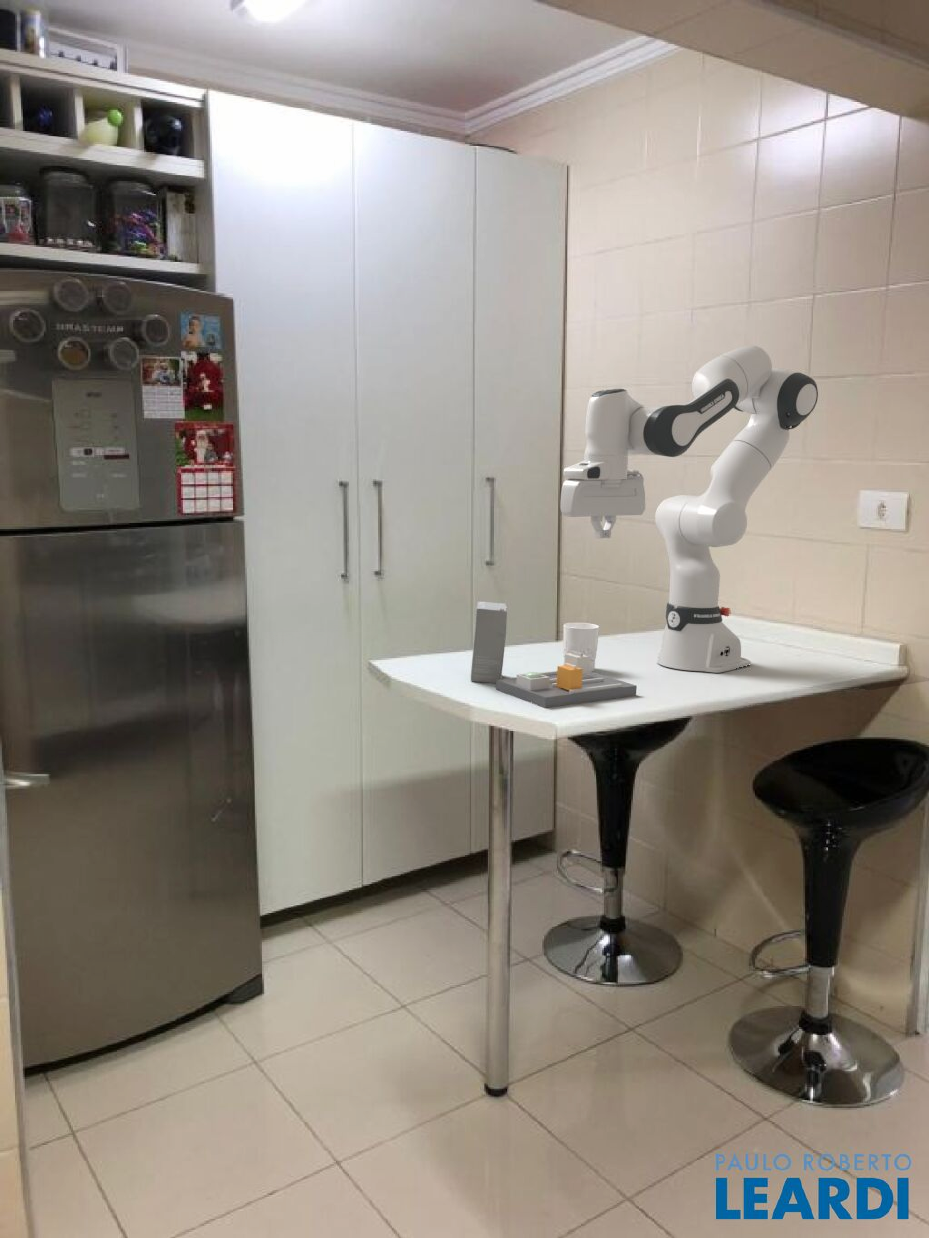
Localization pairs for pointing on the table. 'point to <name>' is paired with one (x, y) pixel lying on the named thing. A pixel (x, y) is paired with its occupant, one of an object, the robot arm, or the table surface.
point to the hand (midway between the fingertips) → (602, 538)
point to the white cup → (581, 640)
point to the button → (533, 675)
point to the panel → (552, 695)
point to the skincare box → (489, 642)
